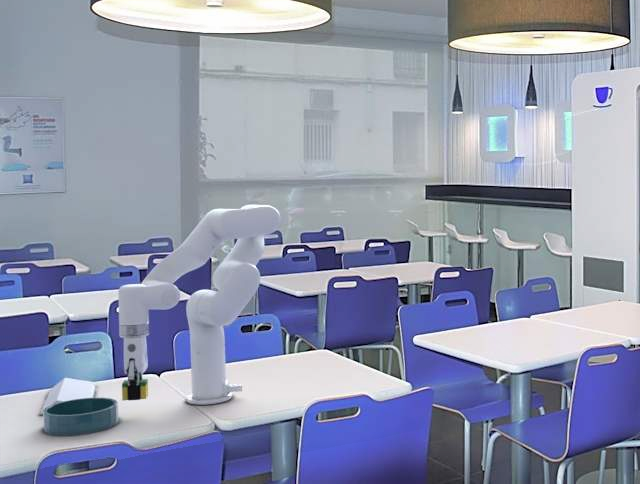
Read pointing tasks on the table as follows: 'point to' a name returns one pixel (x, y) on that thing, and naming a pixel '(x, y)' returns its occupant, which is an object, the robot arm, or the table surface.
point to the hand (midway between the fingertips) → (135, 396)
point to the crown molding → (69, 391)
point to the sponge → (143, 389)
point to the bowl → (80, 416)
